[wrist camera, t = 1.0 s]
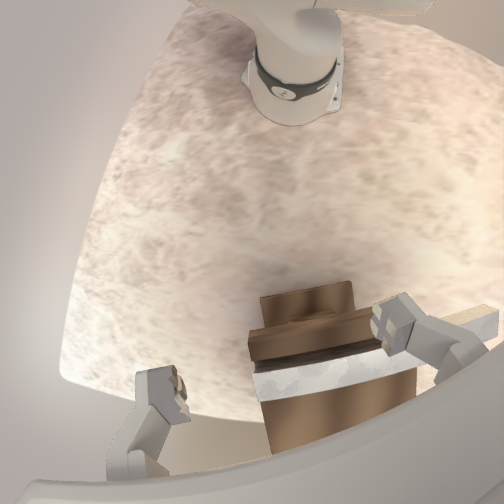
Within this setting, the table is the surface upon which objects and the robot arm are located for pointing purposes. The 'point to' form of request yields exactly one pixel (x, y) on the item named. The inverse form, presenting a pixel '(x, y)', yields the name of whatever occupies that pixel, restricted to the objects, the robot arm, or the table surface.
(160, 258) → the table surface
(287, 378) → the aluminium bar
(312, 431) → the walnut pedestal
